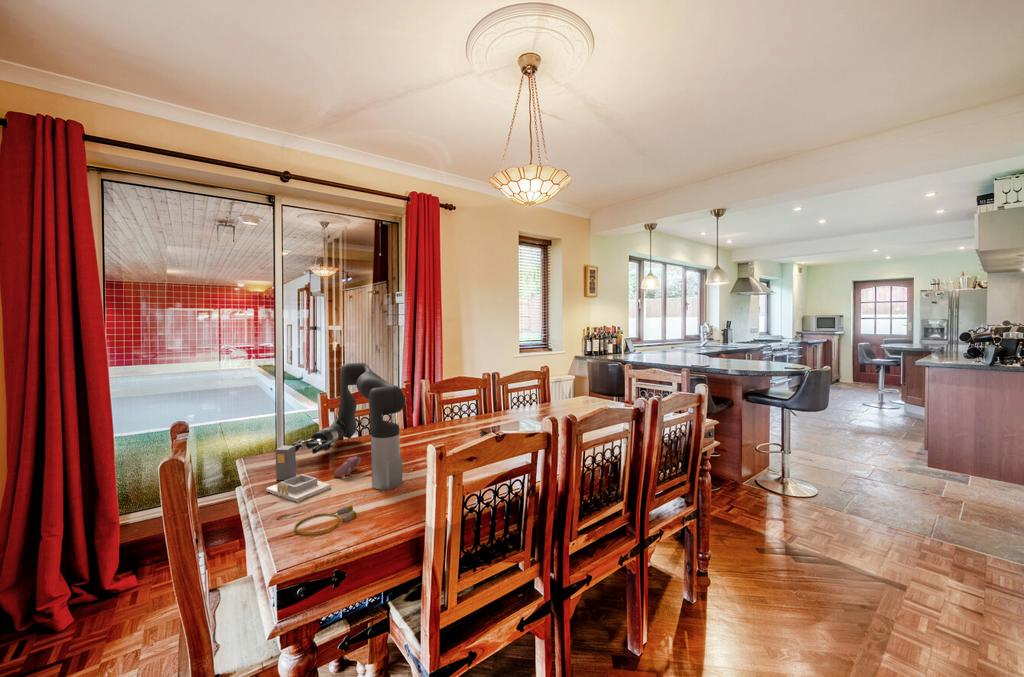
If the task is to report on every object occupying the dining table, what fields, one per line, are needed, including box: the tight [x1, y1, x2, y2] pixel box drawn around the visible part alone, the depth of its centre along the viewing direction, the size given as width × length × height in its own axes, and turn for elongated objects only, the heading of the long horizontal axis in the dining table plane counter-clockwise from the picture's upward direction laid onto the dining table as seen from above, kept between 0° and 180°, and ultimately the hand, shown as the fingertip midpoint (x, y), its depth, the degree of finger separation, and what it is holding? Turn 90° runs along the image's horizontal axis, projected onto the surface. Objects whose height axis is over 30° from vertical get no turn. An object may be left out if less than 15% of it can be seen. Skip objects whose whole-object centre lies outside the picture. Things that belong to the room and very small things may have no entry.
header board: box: [265, 473, 332, 503], centre depth 134 cm, size 16×12×4 cm
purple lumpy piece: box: [333, 455, 362, 478], centre depth 149 cm, size 10×5×7 cm, turn 169°
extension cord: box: [293, 504, 357, 536], centre depth 113 cm, size 12×16×2 cm
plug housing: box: [275, 445, 297, 481], centre depth 143 cm, size 4×5×11 cm
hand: (302, 451), depth 154 cm, fingers open, 8 cm apart
